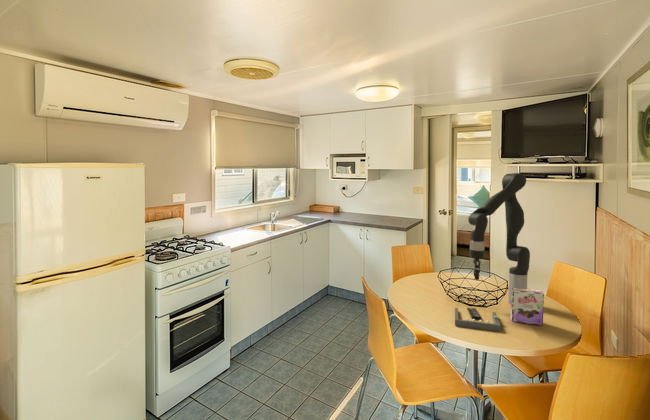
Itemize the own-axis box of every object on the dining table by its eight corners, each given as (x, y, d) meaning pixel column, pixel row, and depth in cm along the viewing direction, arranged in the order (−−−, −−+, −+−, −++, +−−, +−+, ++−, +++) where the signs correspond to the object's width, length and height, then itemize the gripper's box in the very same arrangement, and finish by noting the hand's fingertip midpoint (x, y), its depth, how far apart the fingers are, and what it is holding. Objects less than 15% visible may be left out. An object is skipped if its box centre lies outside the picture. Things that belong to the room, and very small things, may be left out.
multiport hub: (472, 320, 173) (472, 316, 173) (466, 311, 187) (466, 307, 187) (481, 321, 172) (481, 317, 172) (475, 312, 186) (475, 308, 186)
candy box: (511, 322, 171) (512, 290, 170) (510, 318, 176) (510, 287, 176) (543, 325, 166) (544, 293, 165) (540, 321, 171) (541, 290, 170)
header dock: (454, 313, 183) (454, 305, 183) (495, 318, 176) (496, 310, 176) (454, 325, 165) (455, 317, 165) (500, 332, 158) (501, 323, 157)
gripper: (469, 247, 194) (468, 274, 195) (470, 250, 181) (469, 280, 181) (483, 247, 191) (482, 275, 192) (485, 251, 178) (484, 281, 179)
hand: (476, 277), depth 187 cm, fingers open, 8 cm apart
